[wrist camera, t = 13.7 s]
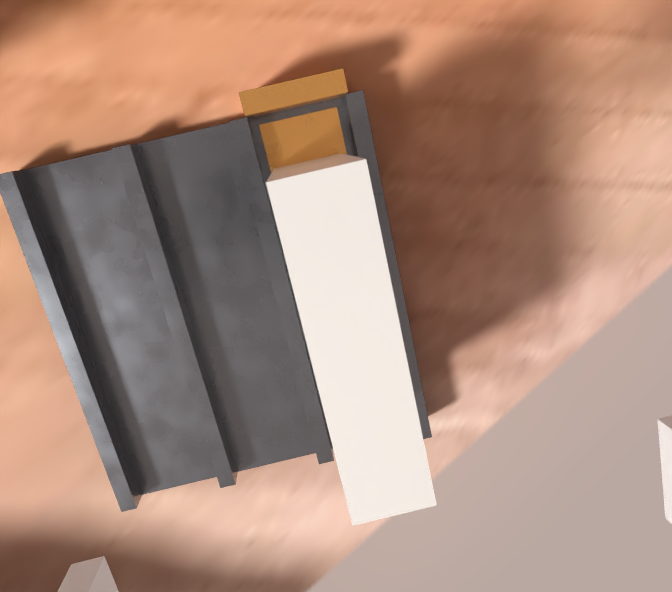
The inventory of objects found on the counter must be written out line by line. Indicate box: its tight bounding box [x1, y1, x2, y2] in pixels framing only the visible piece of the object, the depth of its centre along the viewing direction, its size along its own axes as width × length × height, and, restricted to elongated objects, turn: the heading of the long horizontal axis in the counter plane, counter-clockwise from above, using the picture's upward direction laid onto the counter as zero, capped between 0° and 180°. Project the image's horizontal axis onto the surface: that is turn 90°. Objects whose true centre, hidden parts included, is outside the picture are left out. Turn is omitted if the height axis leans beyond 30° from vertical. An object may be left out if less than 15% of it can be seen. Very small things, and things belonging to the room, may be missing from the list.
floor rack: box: [0, 68, 432, 512], centre depth 35 cm, size 23×21×4 cm
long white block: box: [266, 153, 436, 525], centre depth 30 cm, size 16×4×12 cm, turn 13°
